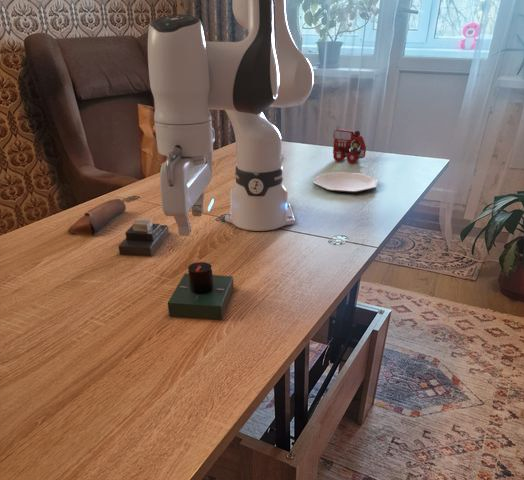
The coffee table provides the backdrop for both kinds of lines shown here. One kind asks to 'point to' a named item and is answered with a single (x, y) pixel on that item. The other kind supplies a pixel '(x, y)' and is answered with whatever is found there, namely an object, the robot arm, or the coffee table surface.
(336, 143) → the toy fire truck
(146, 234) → the key block
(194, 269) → the volume dial
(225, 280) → the volume panel
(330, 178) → the plate
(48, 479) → the coffee table surface
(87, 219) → the sunglasses case
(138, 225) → the key
